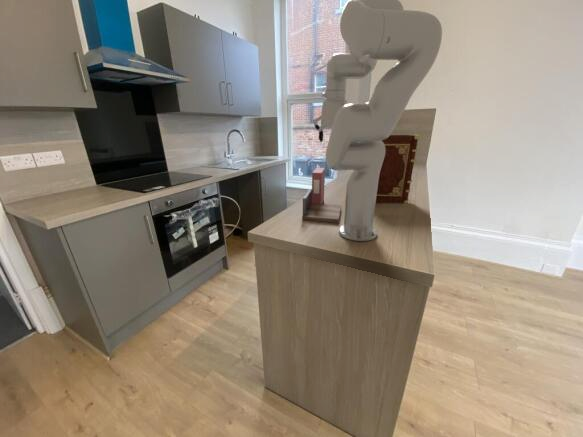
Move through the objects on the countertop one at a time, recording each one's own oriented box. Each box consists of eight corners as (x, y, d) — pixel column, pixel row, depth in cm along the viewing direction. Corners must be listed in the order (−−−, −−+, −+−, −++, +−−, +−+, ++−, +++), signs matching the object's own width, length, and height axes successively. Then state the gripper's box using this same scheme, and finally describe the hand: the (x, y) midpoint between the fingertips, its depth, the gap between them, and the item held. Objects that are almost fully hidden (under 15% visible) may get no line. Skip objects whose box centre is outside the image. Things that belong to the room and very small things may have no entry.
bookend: (305, 215, 94) (305, 198, 92) (302, 215, 95) (302, 198, 92) (311, 204, 107) (312, 189, 104) (309, 204, 107) (309, 189, 105)
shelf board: (338, 223, 91) (338, 219, 91) (302, 221, 95) (302, 216, 94) (341, 209, 106) (341, 205, 105) (309, 207, 109) (309, 203, 108)
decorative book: (404, 198, 119) (415, 134, 108) (410, 203, 112) (422, 135, 101) (358, 198, 121) (363, 135, 110) (360, 203, 114) (367, 136, 103)
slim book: (320, 208, 108) (321, 173, 102) (311, 208, 109) (312, 172, 103) (323, 200, 119) (325, 168, 113) (315, 200, 120) (316, 167, 114)
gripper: (311, 96, 93) (310, 142, 100) (357, 94, 89) (353, 143, 96) (315, 97, 100) (314, 140, 107) (358, 96, 95) (354, 141, 102)
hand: (332, 141), depth 101 cm, fingers open, 9 cm apart
